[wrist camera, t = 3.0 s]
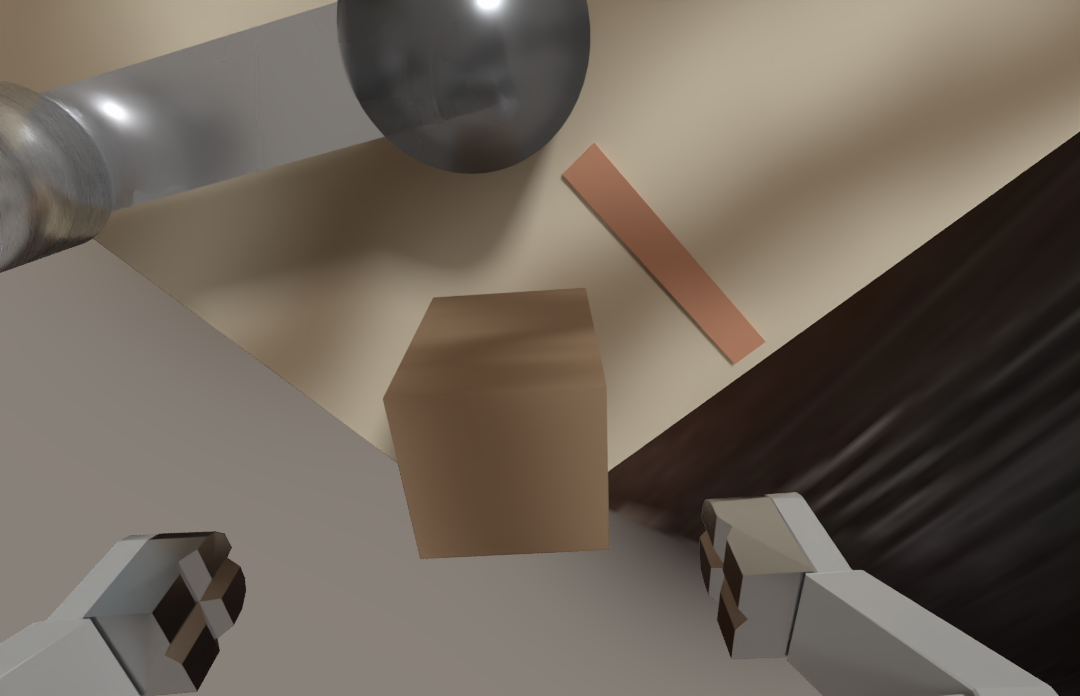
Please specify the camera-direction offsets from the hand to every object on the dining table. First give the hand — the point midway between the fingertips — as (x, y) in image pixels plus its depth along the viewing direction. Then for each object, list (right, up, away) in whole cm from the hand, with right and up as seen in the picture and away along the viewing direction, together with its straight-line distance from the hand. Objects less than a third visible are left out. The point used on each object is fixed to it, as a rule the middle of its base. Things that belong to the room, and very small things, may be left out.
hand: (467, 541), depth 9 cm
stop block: (+1, +3, +6) cm, 6 cm away
